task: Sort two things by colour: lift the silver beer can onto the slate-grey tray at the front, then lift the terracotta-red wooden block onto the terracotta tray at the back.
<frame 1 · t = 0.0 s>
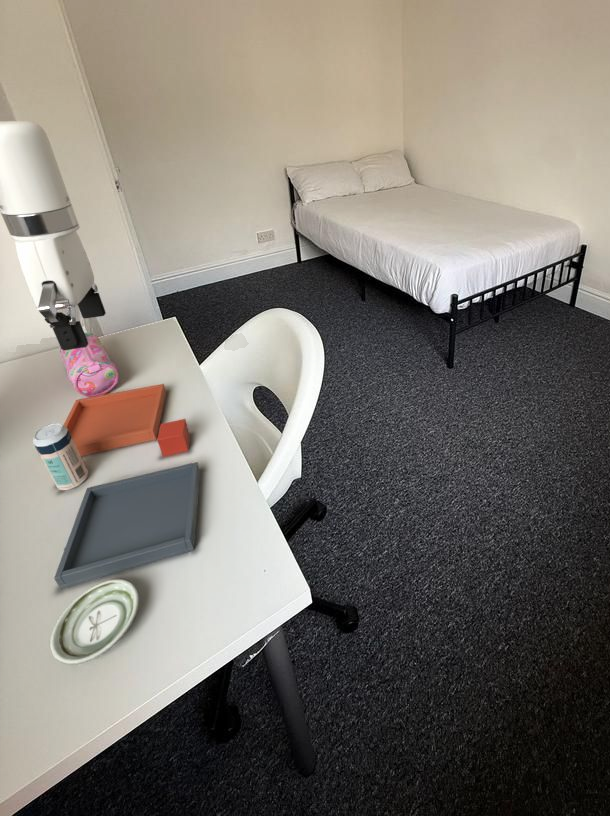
hand: (85, 331, 64), 30 cm above the table, tool pointing down, fingers open, 9 cm apart
beer can: (73, 481, 75), on the table
grey tray: (139, 522, 68), on the table
saucer: (102, 628, 55), on the table
terracotta tray: (116, 423, 88), on the table
red block: (177, 446, 82), on the table
pencil case: (94, 377, 103), on the table
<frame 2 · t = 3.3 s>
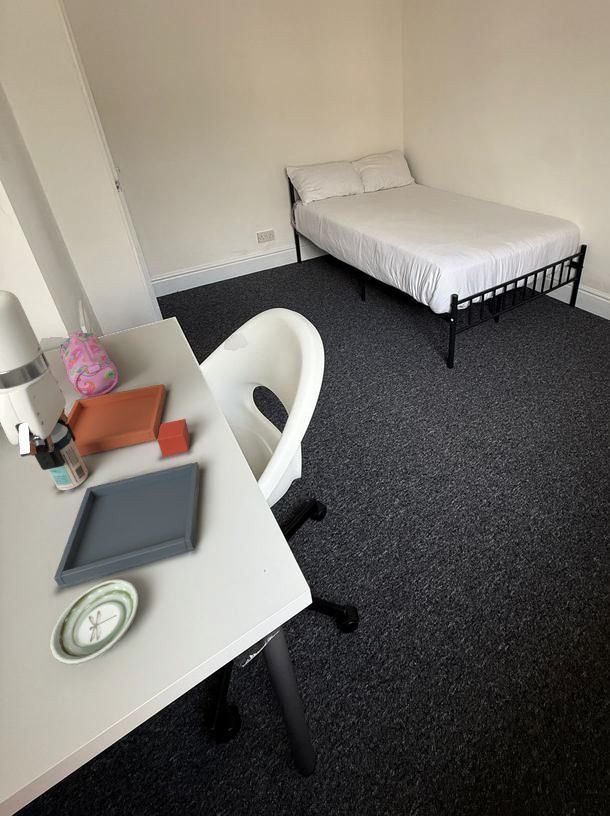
hand: (59, 453, 72), 7 cm above the table, tool pointing down, fingers closed on beer can, 4 cm apart
beer can: (73, 481, 75), on the table, touching gripper
everything else where it was.
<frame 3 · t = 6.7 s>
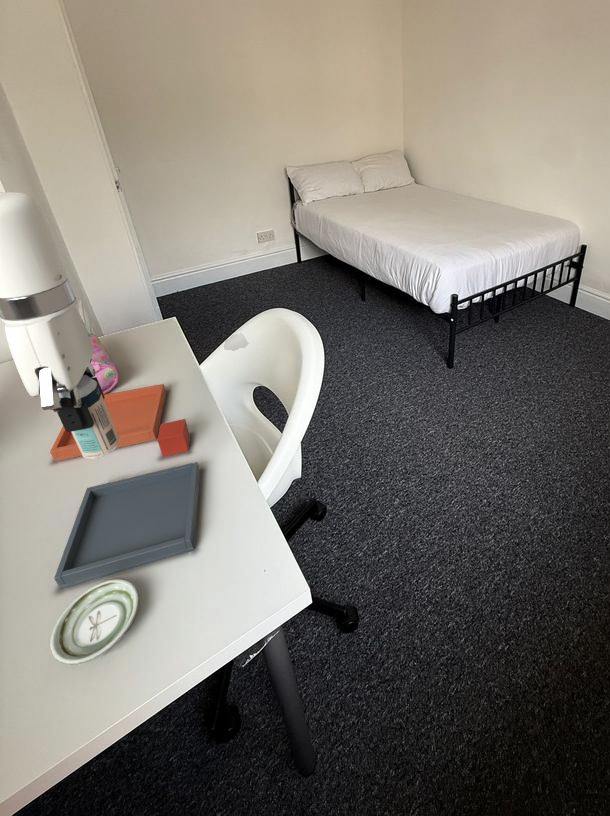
hand: (86, 413, 58), 22 cm above the table, tool pointing down, fingers closed on beer can, 4 cm apart
beer can: (102, 449, 61), point 15 cm above the table, touching gripper
everything else where it was.
when the fingers open (7 cm above the table, at t = 10.4 s): beer can stays where it is, resting on grey tray.
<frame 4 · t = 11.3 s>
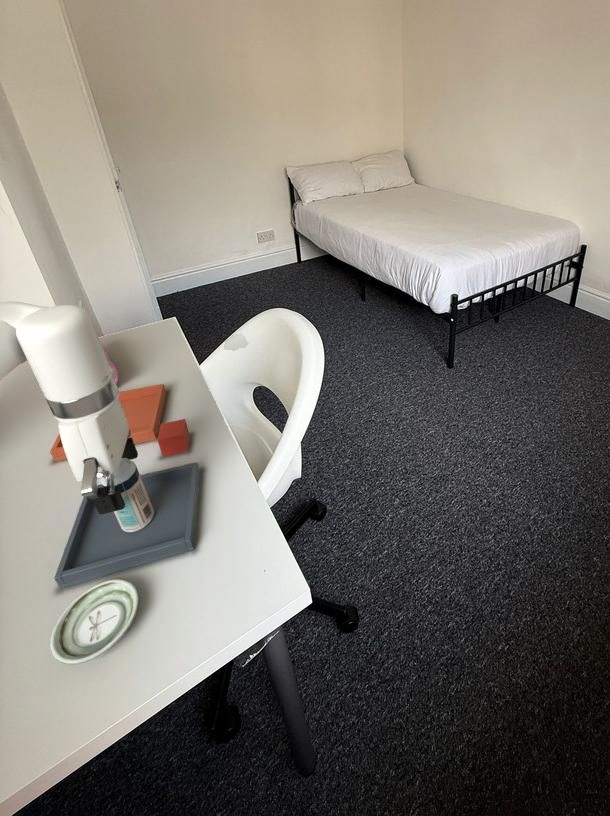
hand: (120, 482, 63), 9 cm above the table, tool pointing down, fingers open, 9 cm apart
beer can: (138, 521, 68), resting on grey tray
everything else where it was.
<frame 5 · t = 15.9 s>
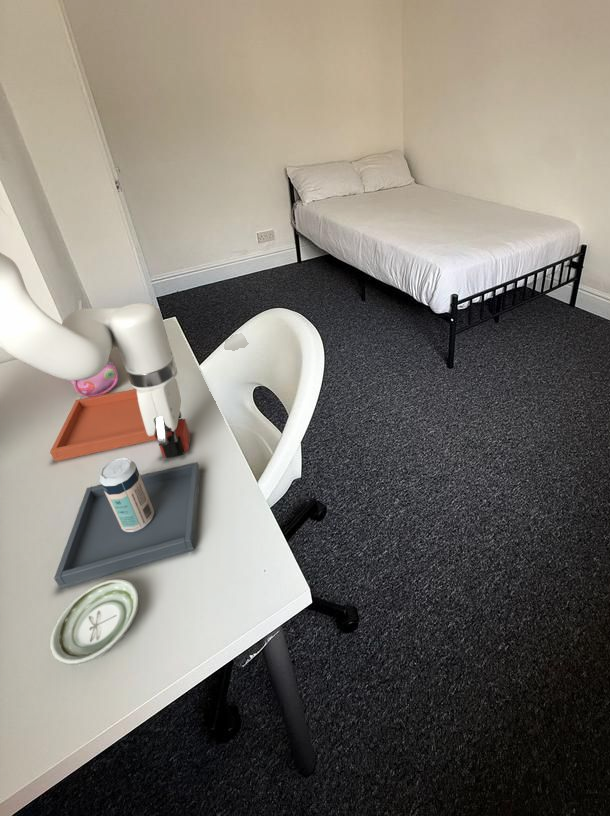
hand: (176, 444, 82), 0 cm above the table, tool pointing down, fingers closed on red block, 4 cm apart
red block: (177, 446, 82), on the table, touching gripper
everything else where it was.
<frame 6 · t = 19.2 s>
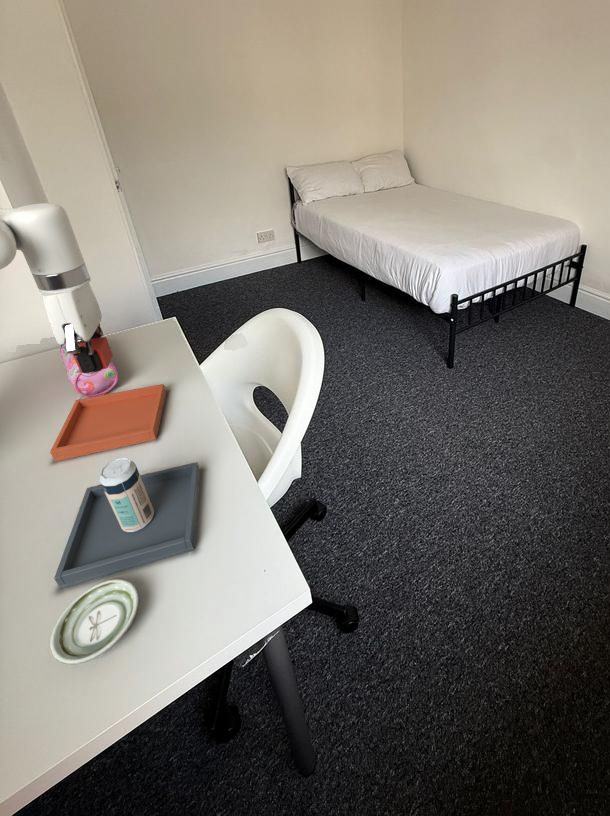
hand: (96, 362, 80), 16 cm above the table, tool pointing down, fingers closed on red block, 4 cm apart
red block: (97, 364, 80), point 16 cm above the table, touching gripper
everything else where it was.
when the fingers open (1 cm above the table, at t = 22.9 s): red block stays where it is, resting on terracotta tray.
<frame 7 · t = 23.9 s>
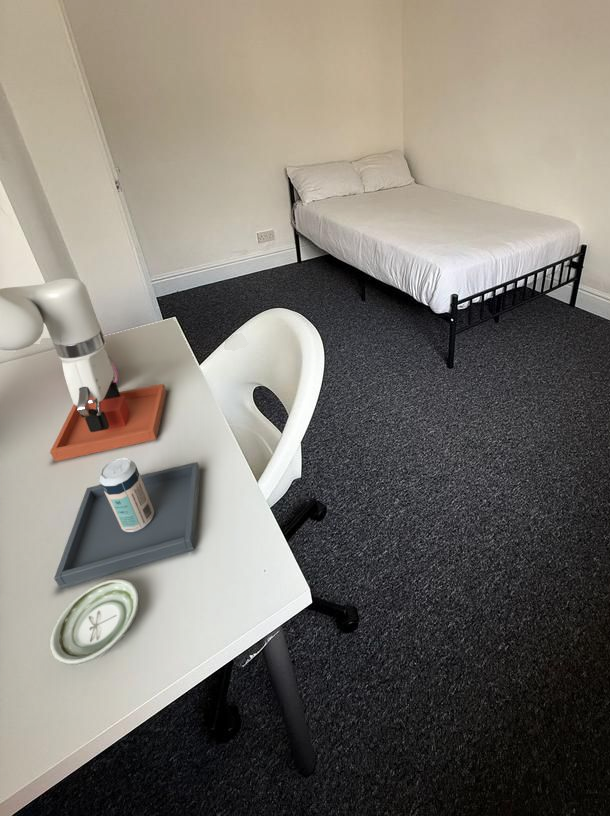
hand: (106, 413, 86), 3 cm above the table, tool pointing down, fingers open, 9 cm apart
red block: (116, 421, 88), point 1 cm above the table, touching terracotta tray
everything else where it was.
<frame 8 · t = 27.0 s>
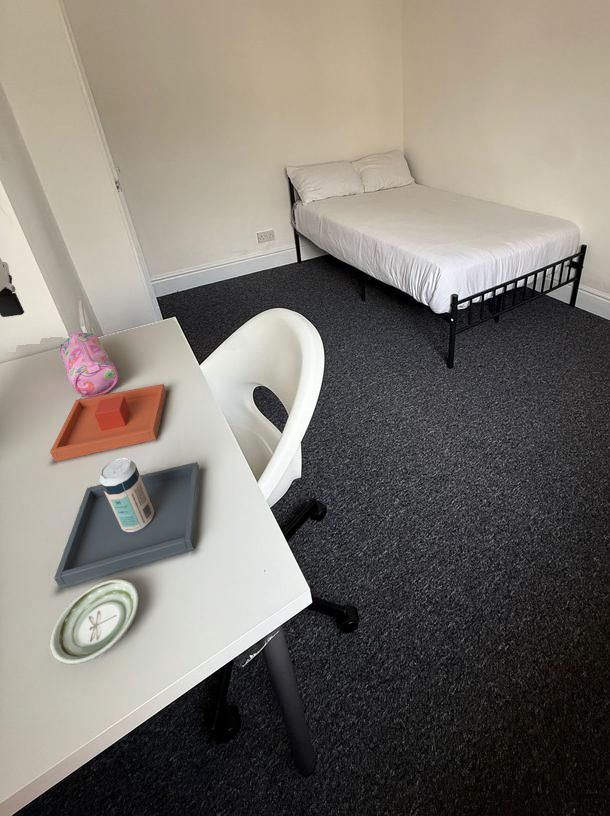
hand: (0, 328, 68), 28 cm above the table, tool pointing down, fingers open, 9 cm apart
nothing on the table moved.
at the end: beer can inside the target area in the grey tray (0.0 cm from its centre), point 0.4 cm above the grey tray's base; beer can tilted 0°; red block inside the target area in the terracotta tray (0.1 cm from its centre), point 0.6 cm above the terracotta tray's base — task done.
